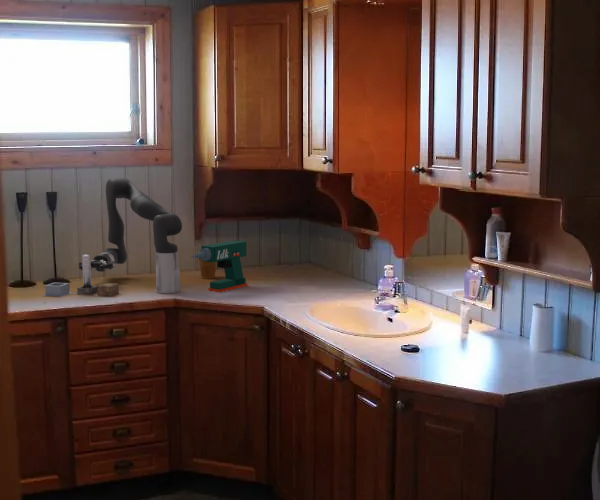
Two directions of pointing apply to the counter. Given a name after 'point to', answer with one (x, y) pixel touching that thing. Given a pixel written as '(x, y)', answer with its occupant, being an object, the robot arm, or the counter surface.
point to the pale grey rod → (86, 271)
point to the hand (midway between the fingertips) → (91, 267)
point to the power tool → (225, 263)
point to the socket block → (100, 290)
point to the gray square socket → (57, 289)
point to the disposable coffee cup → (207, 269)
